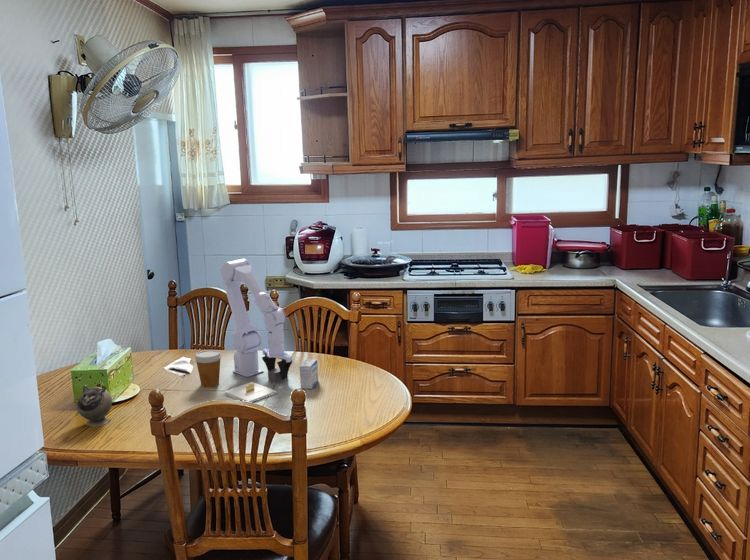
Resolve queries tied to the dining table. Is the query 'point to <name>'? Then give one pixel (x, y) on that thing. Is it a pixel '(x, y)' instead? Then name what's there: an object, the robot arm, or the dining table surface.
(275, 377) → the block
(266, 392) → the board
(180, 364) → the cloth
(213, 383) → the disposable coffee cup
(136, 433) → the dining table surface
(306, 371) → the medicine box
